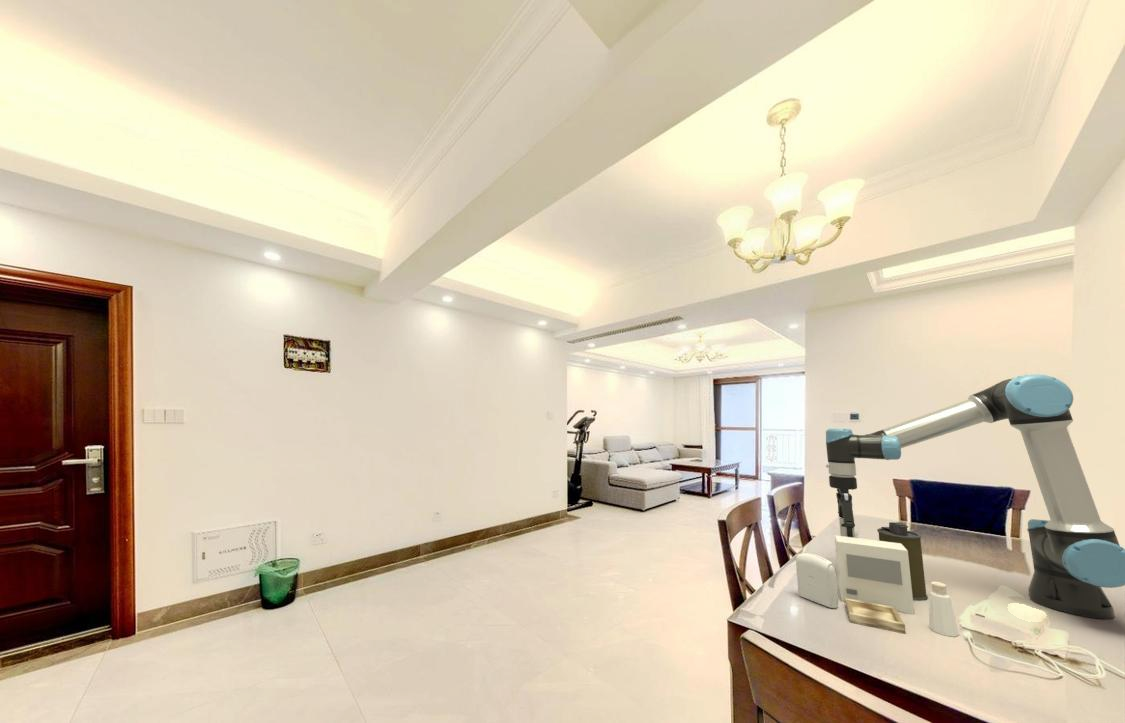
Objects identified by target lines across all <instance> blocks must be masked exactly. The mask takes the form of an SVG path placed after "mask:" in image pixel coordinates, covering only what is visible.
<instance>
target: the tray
mask: <svg viewBox="0 0 1125 723" xmlns="http://www.w3.org/2000/svg"><path fill="white" fill-rule="evenodd" d="M844 605H845V609H846V612H847V616H848V619H849V623H852V624H857V625H862V626H867V627H872V628H875V629H882V630H887V631H891V632H896V633H899V634H900V633H901V634H905V635H906V634H907V633H906V632H907V631H906V625H905V622H904V621H903V618H902V617H901V616H900V614H899V611H897V610H896V608H895V607H890V606H885V605H880V604H874V603H869V602H863V601H858V600H853V599H847V598H845V601H844Z"/></svg>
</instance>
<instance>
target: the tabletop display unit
mask: <svg viewBox="0 0 1125 723" xmlns="http://www.w3.org/2000/svg"><path fill="white" fill-rule="evenodd" d="M834 544H835V554H836V556H835V558H836V569H837V571H836V572H837V582H838V592H839V596H840V599H841V601H842V602H845V598H847V599H853V600H858V601H863V602H869V603H874V604H880V605H885V606H890V607H895V608H896V610H897V612H898V613H900V612H901V613H905V614H911V615H915V608H914V607H915V606H914V600H913V596H912V587H911V577H910V567H909V558H908V550H907V549H906V548H905V547H904V546H903V545H902V544H901V543H893V542H885V541H879V540H877V539H869V538H861V537H860V538H859V537H855V538H853V537H845V536H841V535H837V534H835V535H834Z"/></svg>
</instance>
